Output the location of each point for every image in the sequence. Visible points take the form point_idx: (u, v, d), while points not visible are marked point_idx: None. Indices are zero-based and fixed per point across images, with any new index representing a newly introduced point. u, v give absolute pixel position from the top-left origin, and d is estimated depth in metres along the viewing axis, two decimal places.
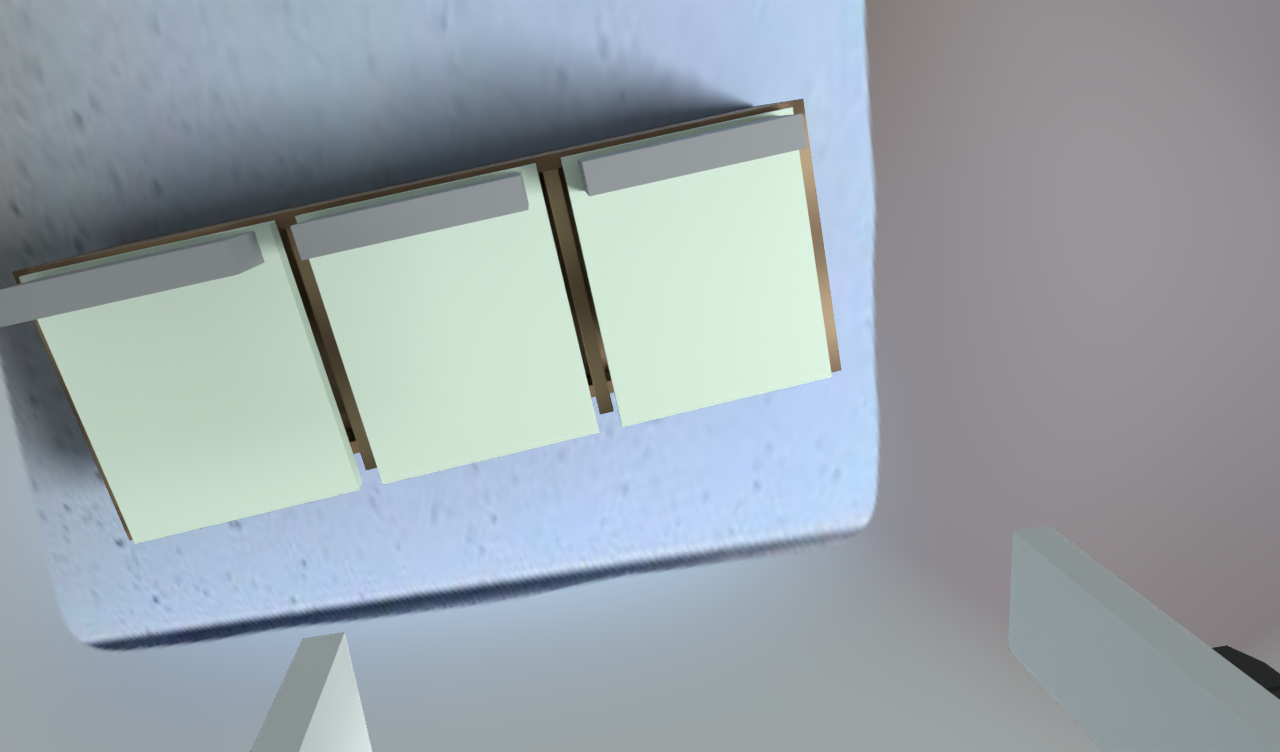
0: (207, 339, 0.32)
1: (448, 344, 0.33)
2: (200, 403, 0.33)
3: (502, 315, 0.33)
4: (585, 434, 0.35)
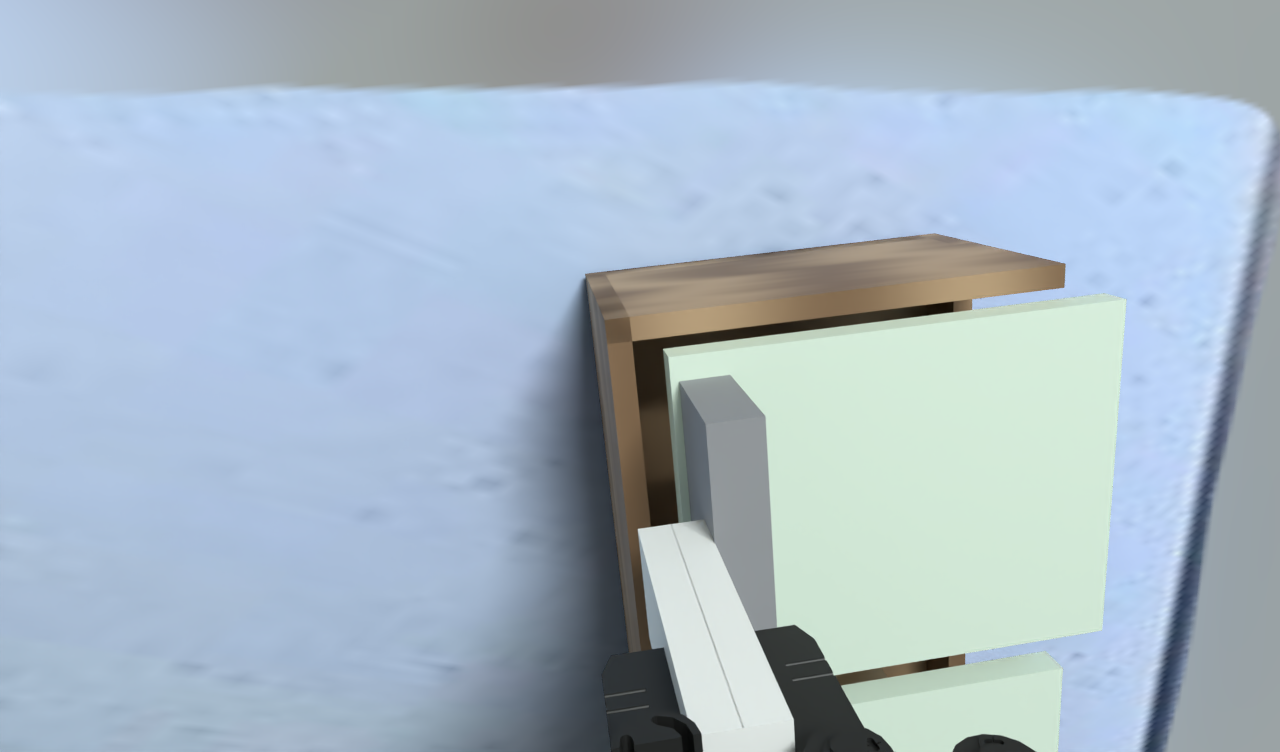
0: None
1: None
2: None
3: None
4: (1059, 686, 0.23)
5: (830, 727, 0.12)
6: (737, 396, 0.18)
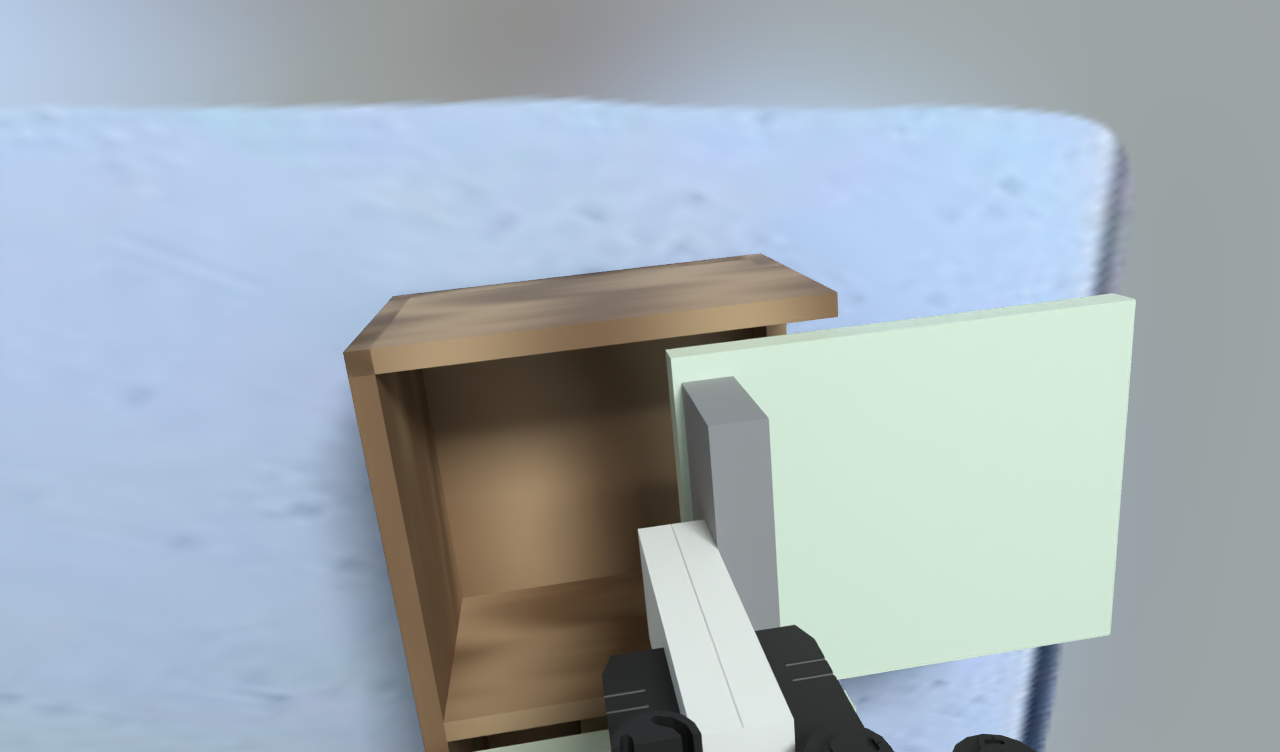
0: None
1: None
2: None
3: None
4: None
5: (830, 727, 0.12)
6: (740, 398, 0.17)
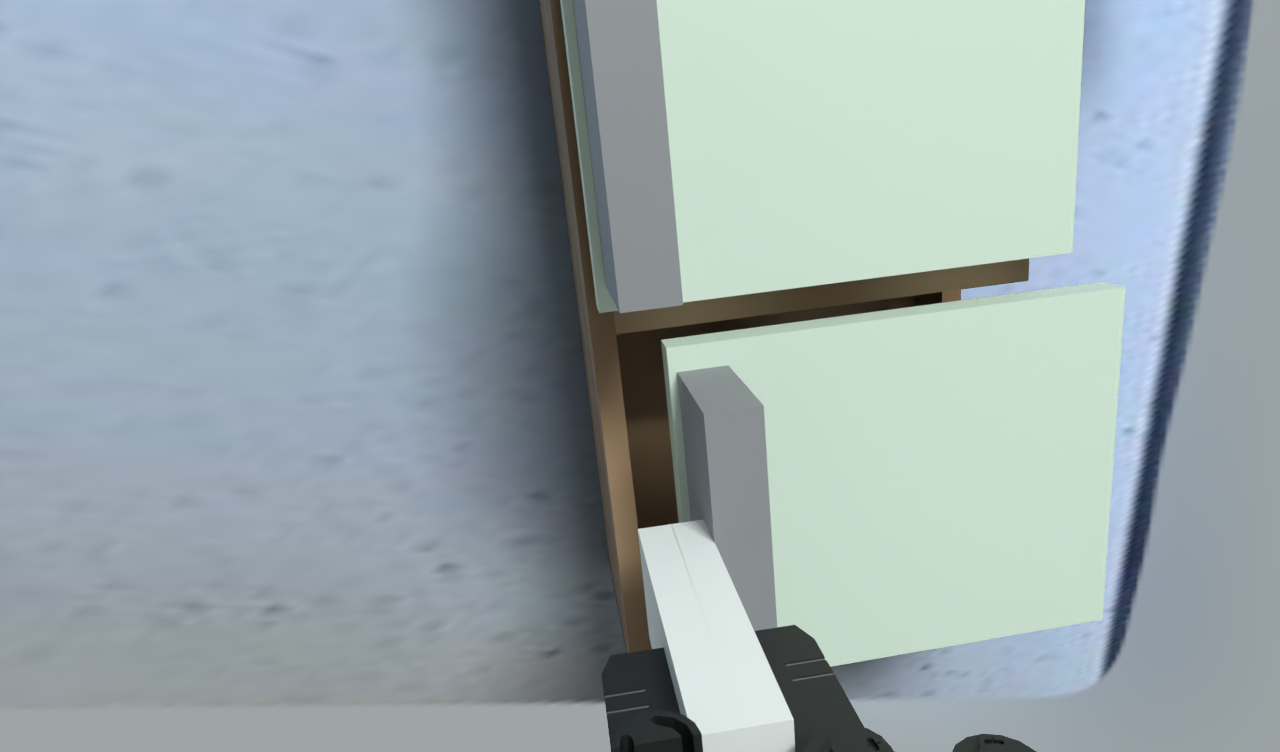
0: (831, 469, 0.20)
1: (858, 87, 0.18)
2: (925, 498, 0.21)
3: None
4: None
5: (830, 727, 0.12)
6: None
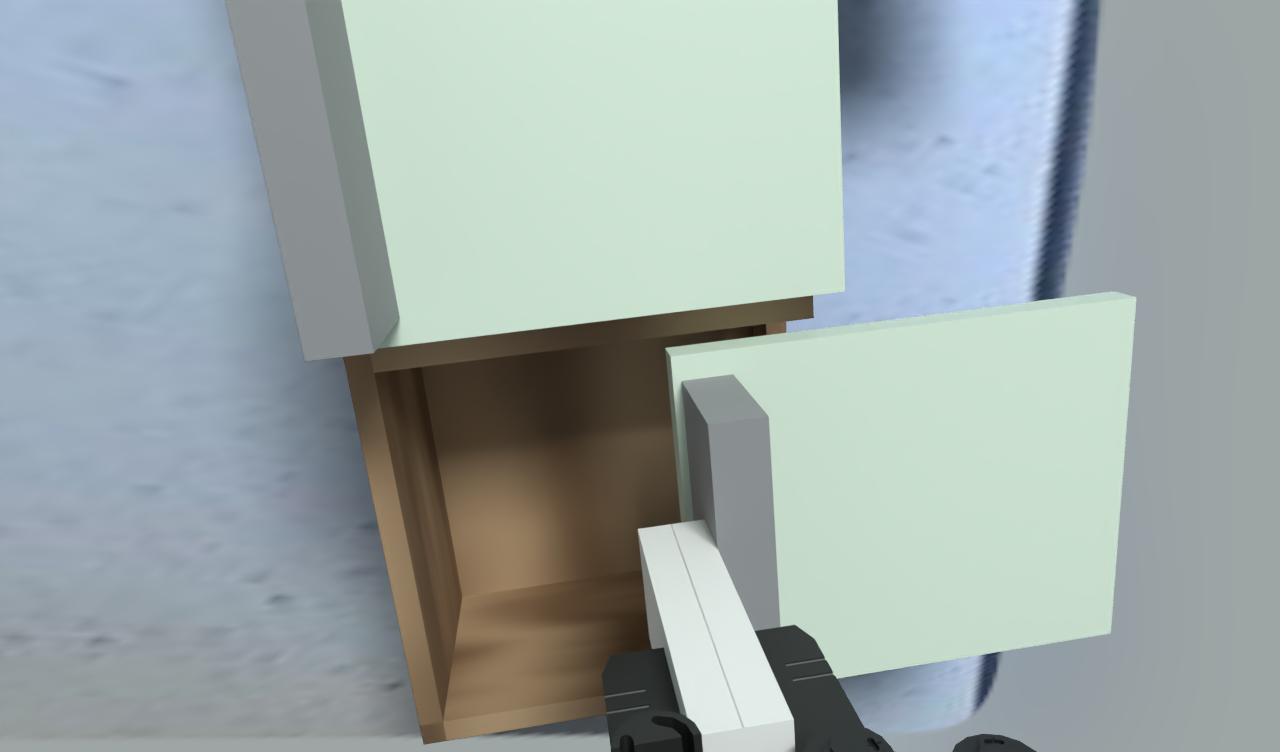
0: (836, 480, 0.20)
1: (599, 121, 0.17)
2: (931, 509, 0.21)
3: (552, 0, 0.16)
4: None
5: (830, 727, 0.12)
6: None
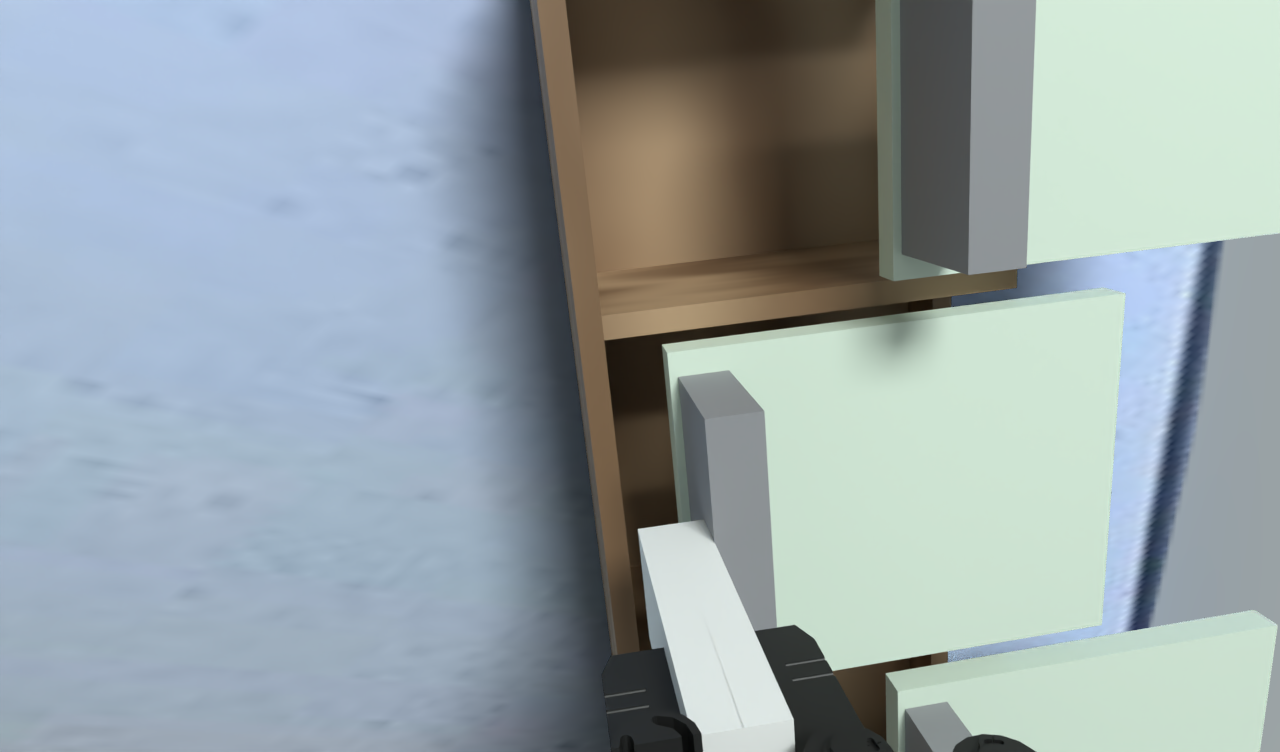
0: None
1: (922, 514, 0.21)
2: None
3: (896, 430, 0.20)
4: (1121, 317, 0.20)
5: (830, 727, 0.12)
6: None
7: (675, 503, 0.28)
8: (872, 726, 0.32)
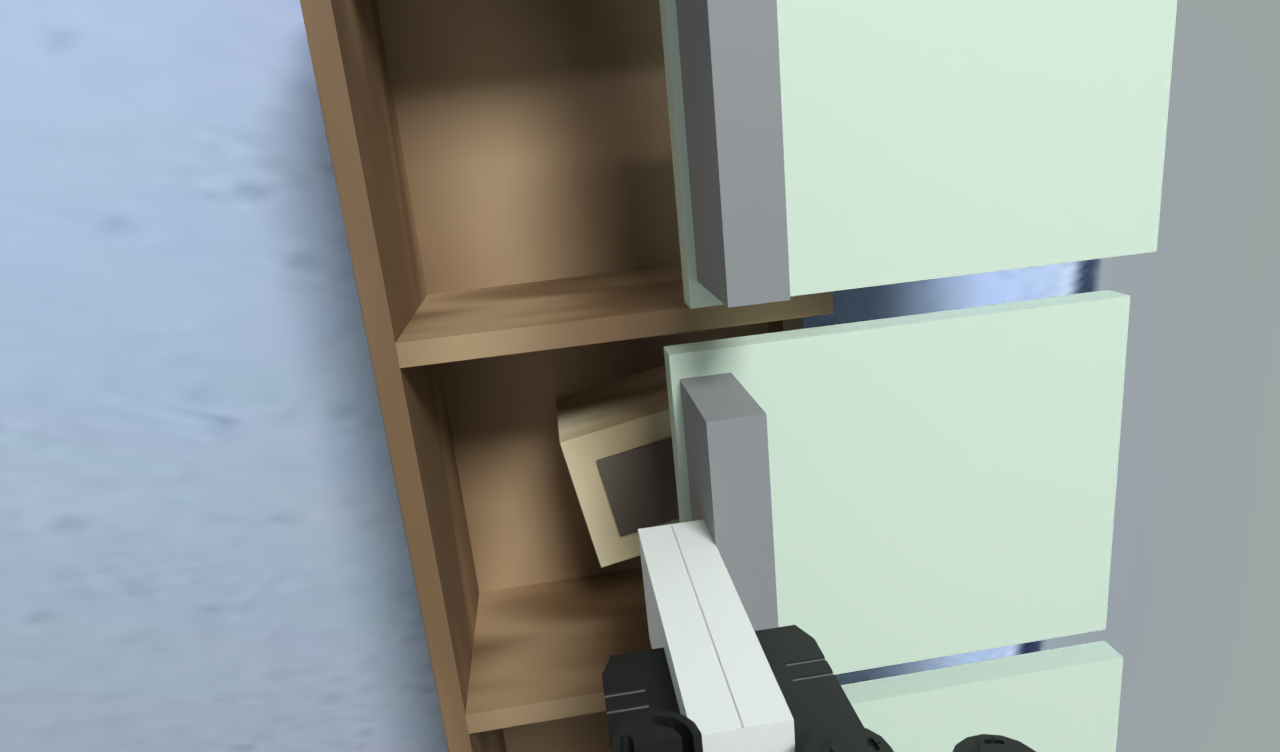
0: None
1: (925, 517, 0.21)
2: None
3: (899, 432, 0.20)
4: (1126, 320, 0.20)
5: (830, 727, 0.12)
6: None
7: (534, 526, 0.27)
8: None
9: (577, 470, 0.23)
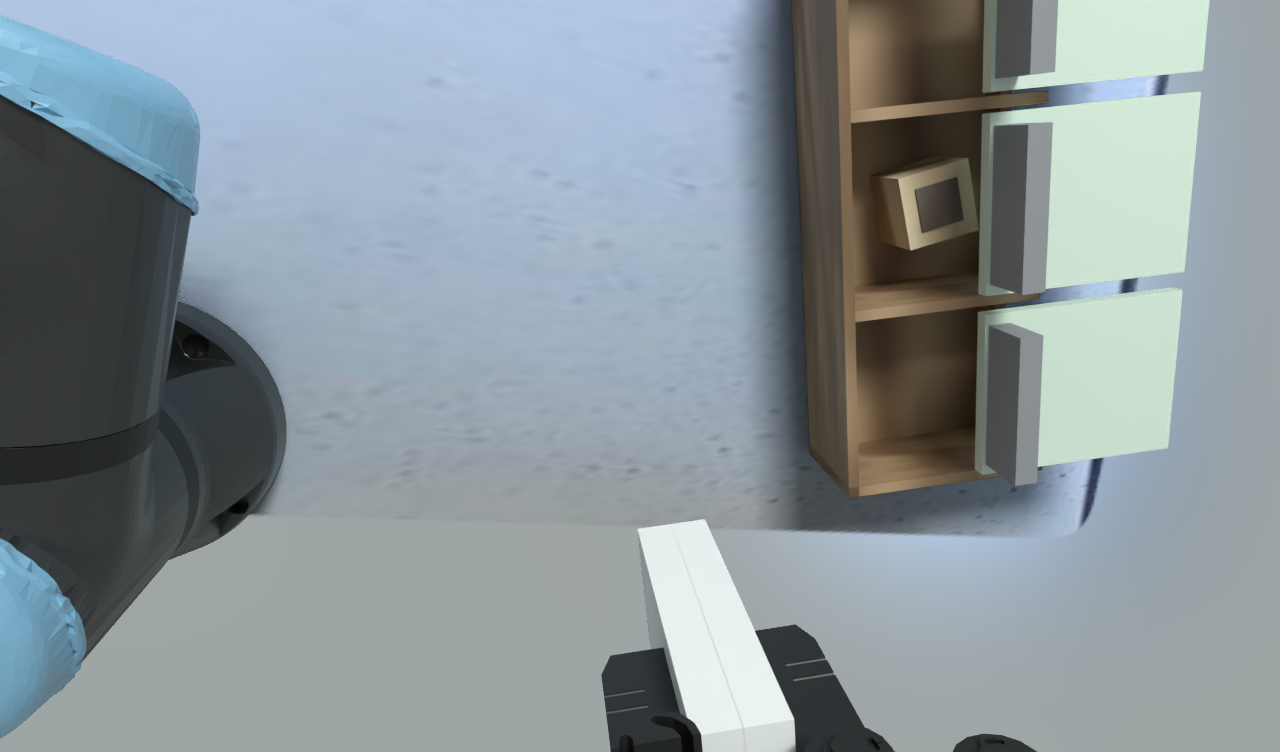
0: (1049, 370, 0.45)
1: (1099, 203, 0.43)
2: (1089, 385, 0.46)
3: (1090, 157, 0.42)
4: (1198, 103, 0.42)
5: (830, 727, 0.12)
6: None
7: None
8: (956, 401, 0.53)
9: (904, 195, 0.45)
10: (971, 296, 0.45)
